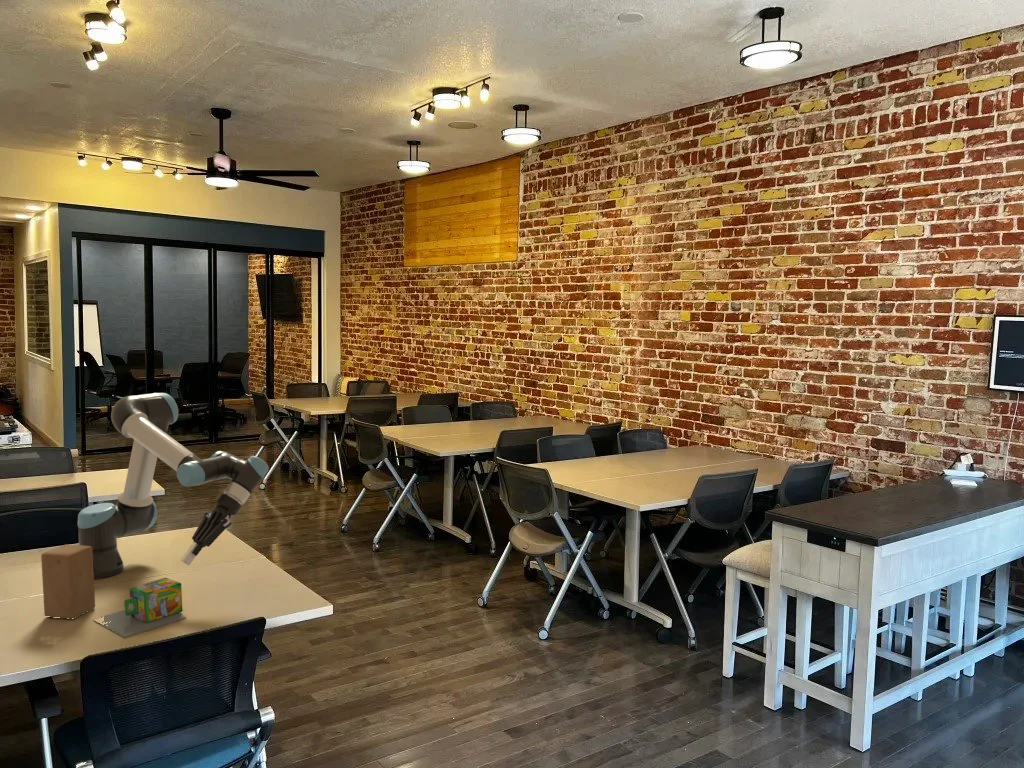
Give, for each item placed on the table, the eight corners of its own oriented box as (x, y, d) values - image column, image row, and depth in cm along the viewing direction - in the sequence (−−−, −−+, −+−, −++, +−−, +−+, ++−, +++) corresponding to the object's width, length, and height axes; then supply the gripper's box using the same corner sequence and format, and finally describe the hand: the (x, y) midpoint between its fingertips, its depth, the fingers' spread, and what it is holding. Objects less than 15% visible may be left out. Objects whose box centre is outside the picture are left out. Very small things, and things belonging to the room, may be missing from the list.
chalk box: (183, 611, 232) (135, 628, 220) (167, 605, 238) (119, 621, 226) (181, 581, 232) (133, 597, 220) (165, 576, 237) (117, 590, 225)
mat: (93, 620, 227) (93, 619, 227) (153, 602, 241) (153, 601, 240) (124, 638, 214) (124, 636, 214) (186, 618, 228) (186, 617, 228)
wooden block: (72, 621, 226) (68, 555, 224) (43, 618, 228) (39, 553, 226) (96, 608, 236) (93, 545, 234) (68, 606, 238) (65, 543, 236)
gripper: (251, 509, 246) (204, 573, 235) (229, 502, 254) (183, 564, 243) (235, 496, 241) (186, 561, 230) (213, 489, 249) (165, 552, 238)
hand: (184, 562), depth 236 cm, fingers closed
